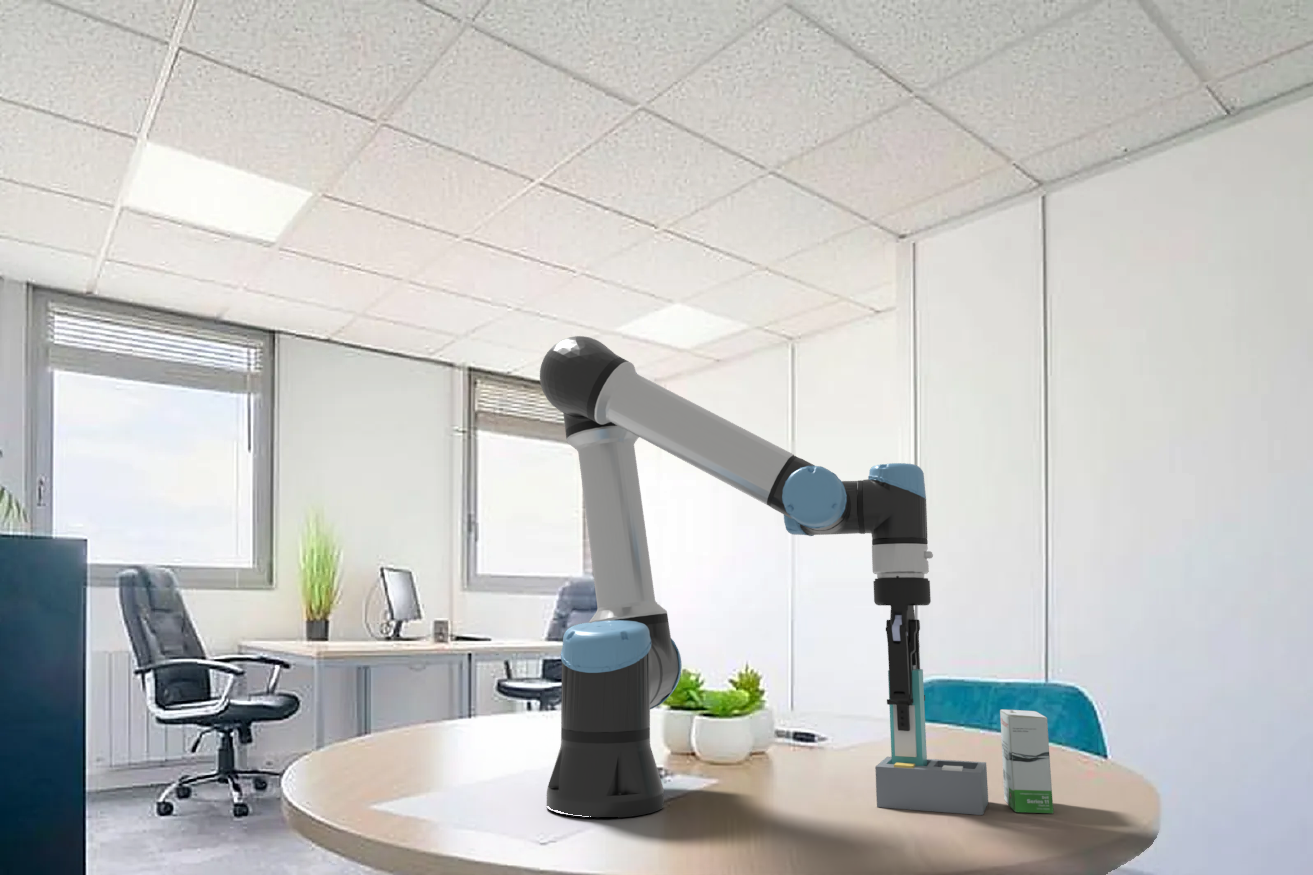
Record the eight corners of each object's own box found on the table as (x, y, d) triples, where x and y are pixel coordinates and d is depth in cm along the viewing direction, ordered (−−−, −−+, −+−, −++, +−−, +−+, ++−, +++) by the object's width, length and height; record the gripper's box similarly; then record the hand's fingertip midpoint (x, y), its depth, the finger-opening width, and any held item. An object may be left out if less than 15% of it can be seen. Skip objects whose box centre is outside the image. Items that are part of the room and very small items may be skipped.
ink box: (1055, 815, 122) (1048, 715, 124) (1013, 813, 123) (1007, 715, 125) (1042, 801, 130) (1036, 708, 132) (1003, 799, 131) (998, 708, 133)
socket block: (876, 807, 126) (875, 764, 127) (888, 794, 135) (887, 754, 136) (982, 815, 122) (980, 770, 122) (988, 801, 130) (986, 759, 131)
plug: (892, 771, 130) (887, 665, 132) (897, 766, 133) (892, 664, 136) (923, 773, 128) (918, 666, 130) (927, 768, 132) (922, 664, 134)
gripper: (920, 574, 126) (929, 765, 122) (937, 577, 141) (945, 746, 137) (861, 575, 129) (868, 761, 125) (884, 578, 144) (890, 743, 140)
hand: (908, 753), depth 131 cm, fingers closed on plug, 4 cm apart
